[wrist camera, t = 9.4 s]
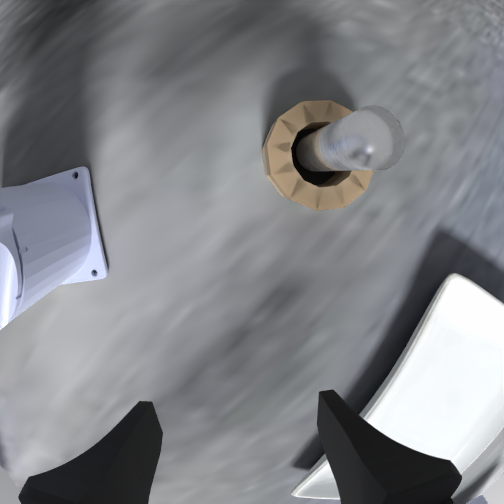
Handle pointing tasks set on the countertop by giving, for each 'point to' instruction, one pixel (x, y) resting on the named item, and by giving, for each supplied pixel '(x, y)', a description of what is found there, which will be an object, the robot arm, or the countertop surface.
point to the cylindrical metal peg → (354, 143)
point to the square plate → (439, 384)
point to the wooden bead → (281, 165)
